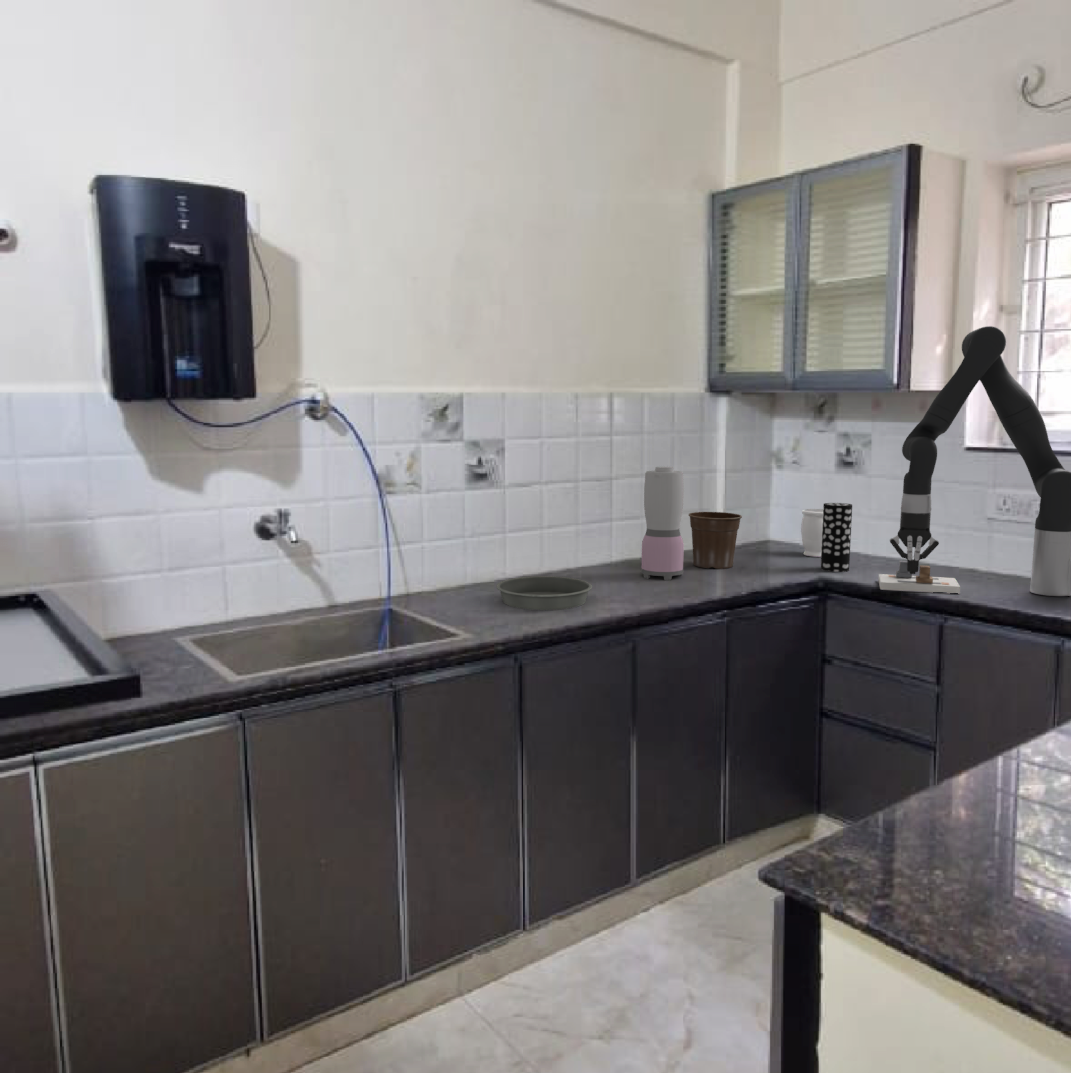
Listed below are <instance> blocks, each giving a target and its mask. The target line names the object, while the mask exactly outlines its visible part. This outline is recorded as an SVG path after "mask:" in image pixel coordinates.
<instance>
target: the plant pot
mask: <svg viewBox="0 0 1071 1073" xmlns="http://www.w3.org/2000/svg"><path fill="white" fill-rule="evenodd" d="M688 516H689V524H690V528H691V542H692V561H693V562H692V564H693V566H695V567H697V568H702V569H710V568H714V569H715V570H720V569H721V570H725V569H731V568H733V566H734V559H735V552H736V544H737V536H738V530H739V529H740V522H741V519H742V517H743V515H741V514H738V513H734V512H733V513H732V512H725V511H696V512H690V513H688Z"/></svg>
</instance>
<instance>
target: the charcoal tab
mask: <svg viewBox="0 0 1071 1073" xmlns="http://www.w3.org/2000/svg"><path fill="white" fill-rule="evenodd" d="M898 565H899V566H898V570H895V575H896V577H909V578H912V576H913V574H910V573H909V572H908V571H907V560H900V559H899V564H898Z"/></svg>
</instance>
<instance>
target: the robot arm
mask: <svg viewBox="0 0 1071 1073" xmlns="http://www.w3.org/2000/svg"><path fill="white" fill-rule="evenodd" d="M1006 347H1007V338H1006V335H1005V333H1004V331H1002V329H1001V328H999V327H996V326H992V325H987V326H983V327H979V328H977V329H975V330H972V331H970V332H968V333H967V334H966V335H965V337H964V338H963V340H962V343H961V353H962V355H963V359H962V361H961V363H960V365H959V367H958V368H957V369H956V371H955V372H954V374H953V375H952V376H951V377H950V379H949V380H948V381H947V382H946V384H945V385H944V387H942V389H941V390H940V391H939V392H938V394H937V395H936V396H935V397H934V399H933V401H932V403H931V404H930V405H929V407H928V408H927V411H926V412H925V414H924V416H923V418H922V419H921V420H920V421H919V423H918V424H916V426H915V427H914V428H913V429H912V430H911V432H910V433H909V434H908V436H906V438H905V440H904V442H903V444H902V448H901V453H902V456H903V457H904V459H905V460H906V461H909V467H908V472H907V473H905V475H904V477H903V487H902V497H901V504H900V505H901V506H900V520H899V522H900V523H899V529H898V532H897V535H895V536H894V537H891V538H890V539H889V542H890V544H891V546H892V547H893V549H895V551H896V552H897V553H898V554H899V556H900V557H901V558H902V559H906V561H907V571H908V572H909V573H910V574H912V575H916V573H918V571H919V568H920V564H919V562H920V561H922V560H924V559H926V558H928V556H929V555H930V554H931V553H932V552H933V551H934V550H935V549H936V548H937V547H938V546H939V544H940V542H939V541H938V540H937V539H935V538H934V537H932V533H931V530H930V529H931V515H932V514H931V513H932V497H931V496H932V477H933V475H934V471H935V468H936V463H937V459H938V447H937V444H936V442H935V441H936V440H937V439H938V437H940V436H941V435H943V434H944V433H946V432H947V430H949V429H950V427H951V425H952V423H953V422H954V421H955V419H956V417H957V416H958V414H959V413H960V410H961V409H962V407H963V406H964V404H965V402H966V401H967V399H968V397H969V396H970V395H971V393H972V392H973V390H974V389H975V387H976V386H977V384H978V383H979V382H980V383H981V384H982V386H983V388H984V390H985V393H986V394H987V397H988V399H989V401H990V403H991V406H992V407H993V409H994V411H995V412H996V414H997V418H998V420H999V421H1000V423H1001V424H1002V427H1003V428H1004V430H1005V432H1006V434H1007V435H1008V438H1009V439H1010V441H1011V442H1012V444H1013V445H1014V447H1015V449H1016V450H1017V452H1018V453H1019V455H1020V457H1021V458H1022V460H1023V461H1024V463H1025V466H1026V469H1027V471H1028V473H1029V475H1030V478H1031V481H1032V484H1033V486H1034V489H1035V492H1036V494H1038V496H1039V497H1040V501H1039V510H1038V515H1037V517H1036V518H1035V521H1034V522H1035V524H1034V533H1033V534H1034V535H1033V547H1032V548H1033V549H1032V560H1031V561H1032V562H1031V573H1030V574H1031V575H1030V583H1029V584H1030V586H1029V591H1030V593H1032V594H1035V595H1041V596H1047V597H1068V596H1069V597H1071V471H1069V470H1066V469H1065V468H1064V466H1063V465H1062V463H1061V462H1060V460H1059V459H1058V457H1057V456H1056V454H1055V452H1054V451H1053V449H1052V446H1051V443H1050V440H1049V436H1048V431H1047V428H1046V427H1047V426H1046V423H1045V421H1044V419H1043V416H1042V413H1041V412H1040V410H1039V408H1038V407H1037V404H1036V403H1035V400H1034V399H1033V398H1032V396H1031V394H1030V393H1029V392H1028V391H1027V390H1026V388H1024V387H1023V385H1022V384H1021V383H1019V381H1018V380H1017V379H1016V378H1015V377H1013V375H1012V373H1011V372H1010V370H1009V368H1008V367H1007V366H1006V364H1005V361H1004V359H1003V357H1002V354H1003V353H1004V351H1005V349H1006ZM900 541H901V542H902V544H903V545H904V546H905V547H906V552H905V551H904V550H903V549H902V547H901V546H900V545H899V544H900ZM927 543H928V546H927V547H926V548H925V550H924V551H922V553H921V549H922V548H924V546H925V545H926V544H927ZM913 548H914V553H913Z"/></svg>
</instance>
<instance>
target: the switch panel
mask: <svg viewBox="0 0 1071 1073" xmlns="http://www.w3.org/2000/svg"><path fill="white" fill-rule="evenodd" d="M916 576H917V575H912V578H909V577H896V574H886V573H885V574H883V573H878V584H879V589H880V590H883V591H901V592H902V591H903V592H918V593H933V592H947V593H946V594H950V593H958V594H957V595H961V586H960V584H959V583H958V581H957V580H956V578H955V577H943V576H942V577H940V576H931V577H932V578H933V583H919V582H916Z"/></svg>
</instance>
